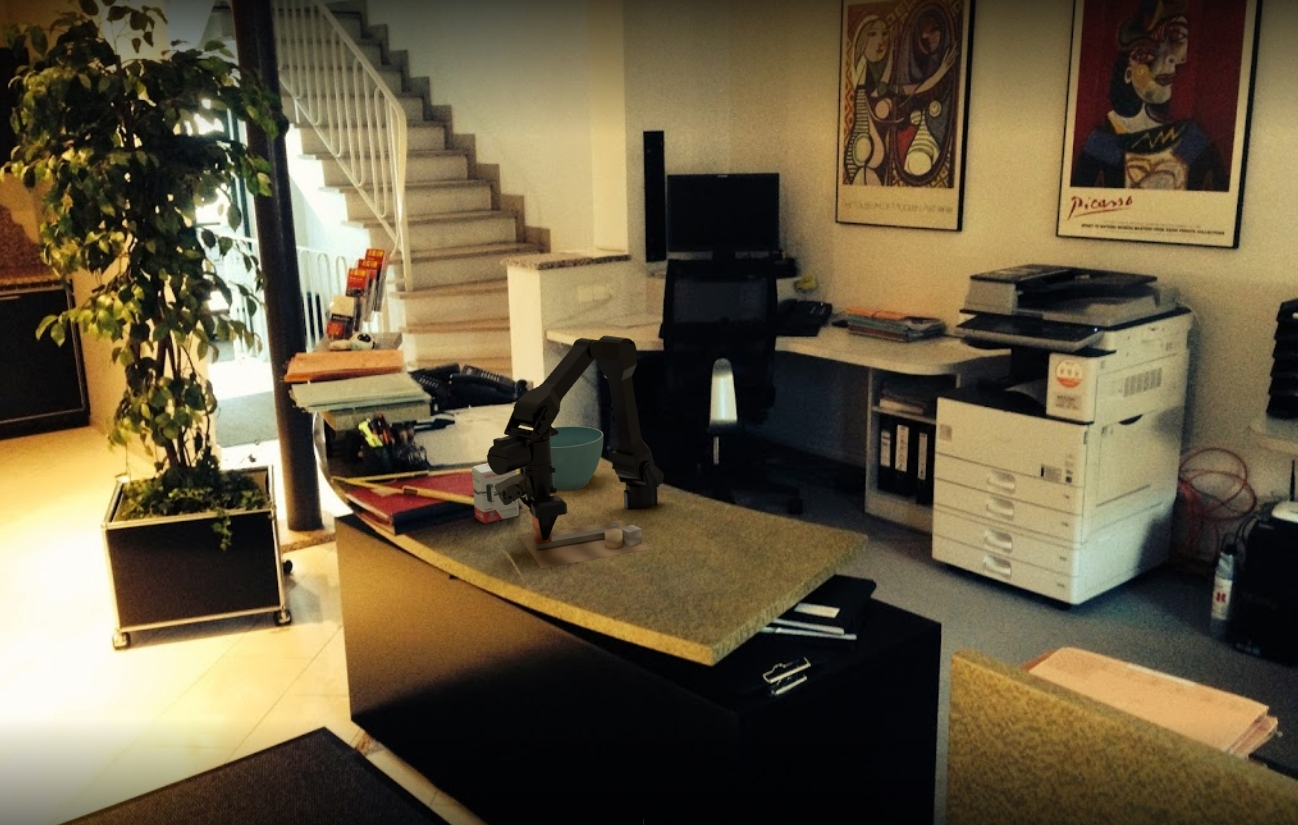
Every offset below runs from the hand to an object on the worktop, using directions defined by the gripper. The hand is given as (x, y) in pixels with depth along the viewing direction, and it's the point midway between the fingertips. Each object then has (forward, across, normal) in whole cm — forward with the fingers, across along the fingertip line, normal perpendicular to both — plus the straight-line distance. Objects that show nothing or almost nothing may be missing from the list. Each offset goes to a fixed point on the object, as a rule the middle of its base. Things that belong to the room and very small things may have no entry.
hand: (542, 536), depth 220 cm
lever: (+2, 0, +6) cm, 6 cm away
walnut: (+2, +5, +13) cm, 14 cm away
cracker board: (+4, +1, +8) cm, 9 cm away
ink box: (+4, -25, -4) cm, 26 cm away
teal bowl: (+4, -38, +15) cm, 41 cm away
